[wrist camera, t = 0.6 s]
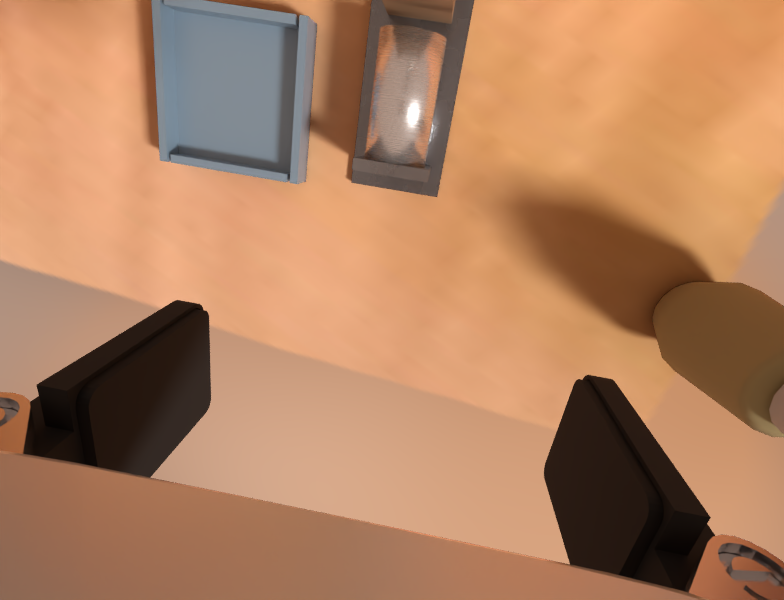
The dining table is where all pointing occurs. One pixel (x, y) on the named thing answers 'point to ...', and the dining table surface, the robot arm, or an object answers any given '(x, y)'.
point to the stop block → (422, 9)
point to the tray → (234, 87)
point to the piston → (403, 102)
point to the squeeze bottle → (727, 348)
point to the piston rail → (444, 102)
